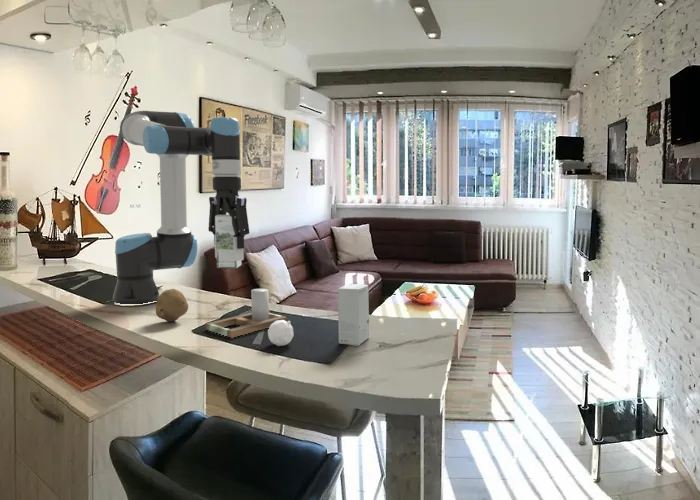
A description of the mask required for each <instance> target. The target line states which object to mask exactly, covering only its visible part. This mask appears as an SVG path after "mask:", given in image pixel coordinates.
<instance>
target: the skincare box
mask: <svg viewBox="0 0 700 500" xmlns="http://www.w3.org/2000/svg"><path fill="white" fill-rule="evenodd" d="M369 301H370V300H369V284H359V283H357V284H356V283H349V284H346V285H345V284H344V285H343V286H341V287H339V288H338V289H337V305H338V306H337V309H338V311H337V313H338V314H337V315H338V316H337V317H338V319H337V320H338V321H337V322H338V323H337V324H338V344H342V345H348V346H355V347H359V346H360V345H361V344H363V343H364V342H365V341H366V340H368V339H369V338H370V311H369V310H370V307H369V305H370V304H369Z"/></svg>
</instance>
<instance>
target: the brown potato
mask: <svg viewBox="0 0 700 500" xmlns="http://www.w3.org/2000/svg"><path fill="white" fill-rule="evenodd" d="M155 305H156V306H155V314H156V316H157V318H159V319H161V320H163V321H166V322H168V323H173V322H172V321H174V322H175V321H177V320H179V318H181V317H183V316H184V315H186V313H187V312H188V311H189V303H188V301H187V299H186V297H185V295H184V294H183V293H182V292H181V291H180V290H178V289H176V288H170V289H166V290H164V291H161V293H160V294H159V298H158V300H157V302H156V304H155Z"/></svg>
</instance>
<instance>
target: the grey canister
mask: <svg viewBox="0 0 700 500" xmlns="http://www.w3.org/2000/svg"><path fill="white" fill-rule="evenodd" d="M250 292H251V294H250V295H251V298H250V299H251V313H252V320H254V321H257V322H260V321H264V320H268V319H269V313H270V301H269V300H270V298H269V297H270V296H269V289H268V288H253V289H251V291H250Z"/></svg>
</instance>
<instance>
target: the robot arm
mask: <svg viewBox="0 0 700 500" xmlns="http://www.w3.org/2000/svg"><path fill="white" fill-rule="evenodd" d="M239 123H240V122H239V120H238V119H237V118H234V117H225V116H222V117H221V116H220V117H212V118H211V120H210V127H197V126H196V127H195V123H194V121H193V119H192V118H191V117H190V115H189V114H187V113H182V112H176V111H174V112H173V111H171V112H170V111H153V110H138V111H133V112H131V113H129V114H126V115H125V116H124V117H123V118H122V120H121V121H120V124H119V132H120V135H121V137H122V138H123V139H124V140H125V141H126V142H128V143H129V144H131V145H133V146H140V147H141V146H142V147H143V148H144V150H145V152H146V153H147V154H152V155H154V154H155V155H157V156H158V158H159V179H160V181H159V183H160V184H159V185H160V186H159V187H160V227H159V228H158V229H157V230H156V236H153V235H152V234H151V232H141V233H133V234H128V235H124V236H121V237H119V238H117V239H116V241H115V248H114V254H115V267H116V284H115V287H114V290H113V291H114V292H113V295H112V302H113V301H114V302H116V303H120V304H143V303H148V302H153V301H157V300H158V298H159V296H160V292H159V289H158V287H157V284H156V282H155V279H154V271H157V270H158V271H160V270H170V269H171V270H172V269H182V268H186V267H187V268H188V267H191V266H192V265H193V264H194V262H195V261H196V259H197V255H198V243H197V242H198V239H197V236H195V235H194V234H193V233H192V230H191V229H190V228H189V227H188V223H187V214H188V212H187V167H186V166H187V163H186V162H187V161H186V159H187V158H188V157H189V155H191V156H192V155H193V156H205V157H206V156H207V157H209V156H210V157H211V162H212V165H211V166H212V175H214V176H213V178H212V190H213V191H216V193H215V196H210V197H209V198H208V200H209V212H208V213H209V215H208V216H209V218H208V228H207V229H208V232H209V233H212V235H213V245H214V257H215V259H217V256H216V229H215V216H216V215H226V214H229V215H230V216H231V217H232V225H233V229H234V232H235V235H234V237H233V244H234V261H240V260H241V261H244V260H245V259H244V258H245V256H244V249H245V236H247V235H249V234H250V226H249V219H248V218H249V217H248V211H247V202H248V201H247V197H240V194H239V191H241V189H242V179H241V176H240V175H241V174H242V170H241V144H240V143H241V142H240V141H241V139H240V138H241V131H240V124H239ZM235 217H236V218H235Z"/></svg>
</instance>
